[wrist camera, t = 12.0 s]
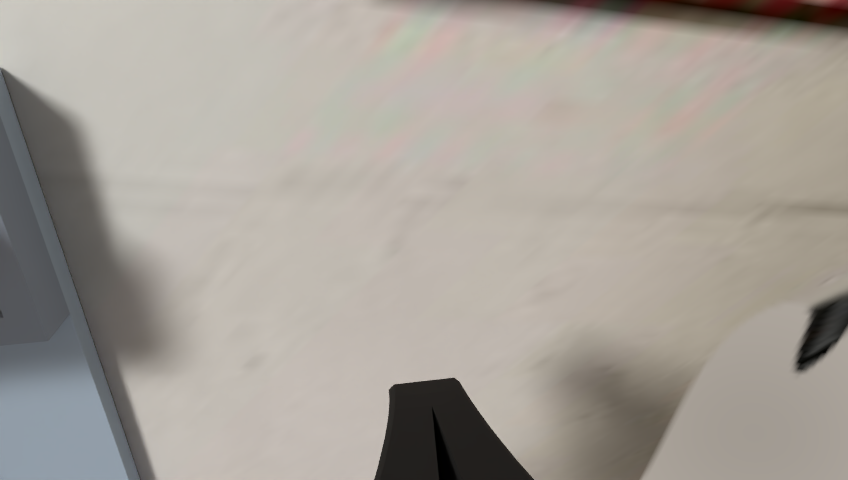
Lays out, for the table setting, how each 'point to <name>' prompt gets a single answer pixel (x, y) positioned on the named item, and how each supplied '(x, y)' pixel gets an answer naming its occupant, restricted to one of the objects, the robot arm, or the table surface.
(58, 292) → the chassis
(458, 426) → the robot arm
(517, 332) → the table surface
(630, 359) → the table surface
